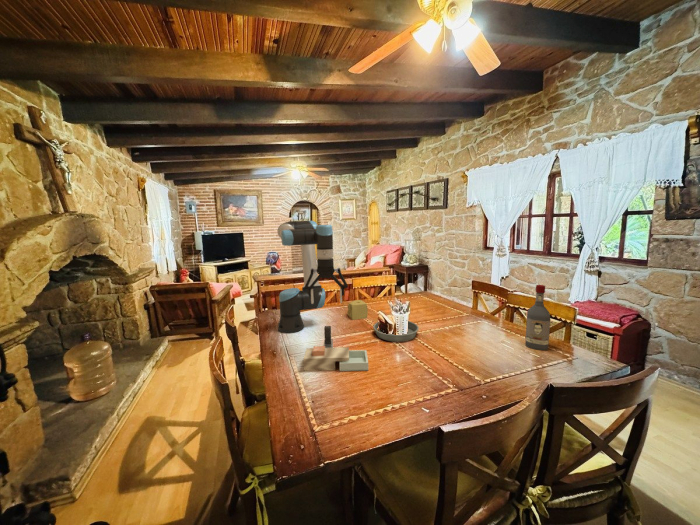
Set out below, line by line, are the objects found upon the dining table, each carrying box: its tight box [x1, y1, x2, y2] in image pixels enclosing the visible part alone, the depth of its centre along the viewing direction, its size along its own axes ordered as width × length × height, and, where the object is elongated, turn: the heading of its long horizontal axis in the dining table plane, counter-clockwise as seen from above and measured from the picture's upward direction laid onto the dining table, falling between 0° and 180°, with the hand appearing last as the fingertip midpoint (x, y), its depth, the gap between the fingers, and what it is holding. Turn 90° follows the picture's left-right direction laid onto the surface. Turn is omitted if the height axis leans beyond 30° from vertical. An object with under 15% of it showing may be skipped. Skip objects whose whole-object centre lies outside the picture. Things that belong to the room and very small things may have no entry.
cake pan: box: [372, 320, 420, 343], centre depth 160 cm, size 25×25×4 cm
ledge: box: [303, 346, 350, 372], centre depth 126 cm, size 19×10×6 cm, turn 91°
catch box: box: [339, 349, 369, 372], centre depth 127 cm, size 12×12×4 cm
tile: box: [312, 345, 325, 356], centre depth 126 cm, size 5×5×2 cm
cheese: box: [346, 299, 369, 321], centre depth 189 cm, size 10×11×10 cm
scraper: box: [323, 325, 334, 348], centre depth 140 cm, size 4×10×12 cm, turn 1°
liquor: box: [524, 284, 551, 351], centre depth 138 cm, size 9×9×30 cm
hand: (326, 302), depth 137 cm, fingers open, 13 cm apart
